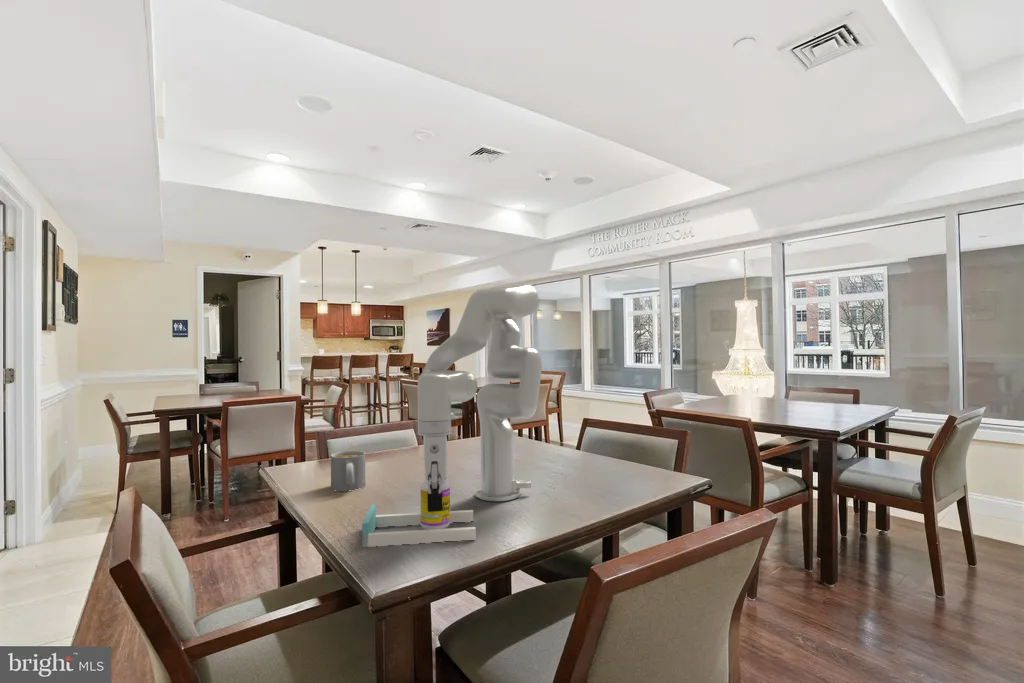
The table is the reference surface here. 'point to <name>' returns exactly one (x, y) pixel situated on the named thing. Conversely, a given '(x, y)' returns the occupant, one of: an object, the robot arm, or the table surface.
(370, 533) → the guide track
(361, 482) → the coffee mug
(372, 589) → the table surface
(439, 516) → the supplement bottle
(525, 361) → the robot arm
